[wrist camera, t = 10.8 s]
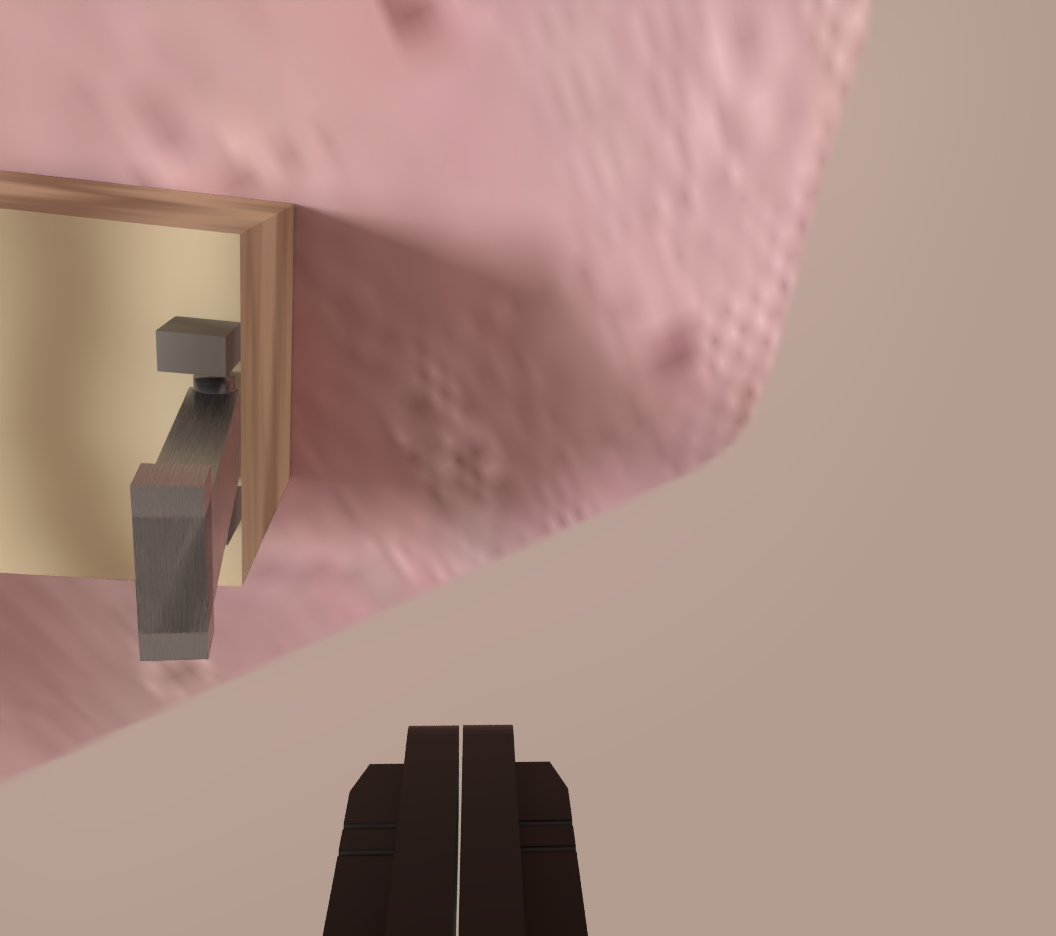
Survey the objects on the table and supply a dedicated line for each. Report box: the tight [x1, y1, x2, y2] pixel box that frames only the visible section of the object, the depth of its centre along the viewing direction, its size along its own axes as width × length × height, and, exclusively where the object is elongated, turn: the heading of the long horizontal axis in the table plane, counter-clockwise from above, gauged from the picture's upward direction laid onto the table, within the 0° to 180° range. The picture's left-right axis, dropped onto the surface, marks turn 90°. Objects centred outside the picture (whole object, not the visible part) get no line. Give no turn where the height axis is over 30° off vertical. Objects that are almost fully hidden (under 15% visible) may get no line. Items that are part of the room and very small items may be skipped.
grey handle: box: [130, 373, 240, 661], centre depth 19 cm, size 8×4×1 cm
